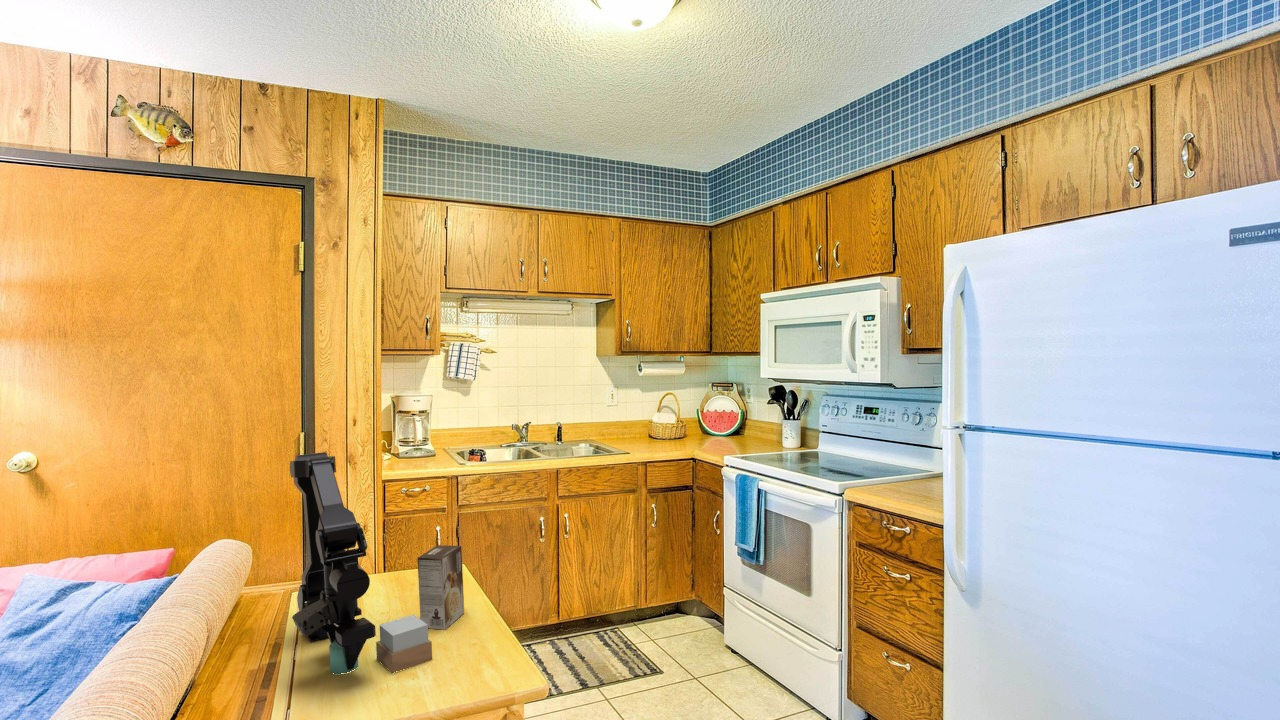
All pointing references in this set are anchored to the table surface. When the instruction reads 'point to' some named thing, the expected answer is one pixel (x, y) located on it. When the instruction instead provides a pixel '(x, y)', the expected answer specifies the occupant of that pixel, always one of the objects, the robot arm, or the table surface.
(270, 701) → the table surface
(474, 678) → the table surface
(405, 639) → the tower top
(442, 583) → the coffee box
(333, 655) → the teal cylinder
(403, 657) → the tower base
